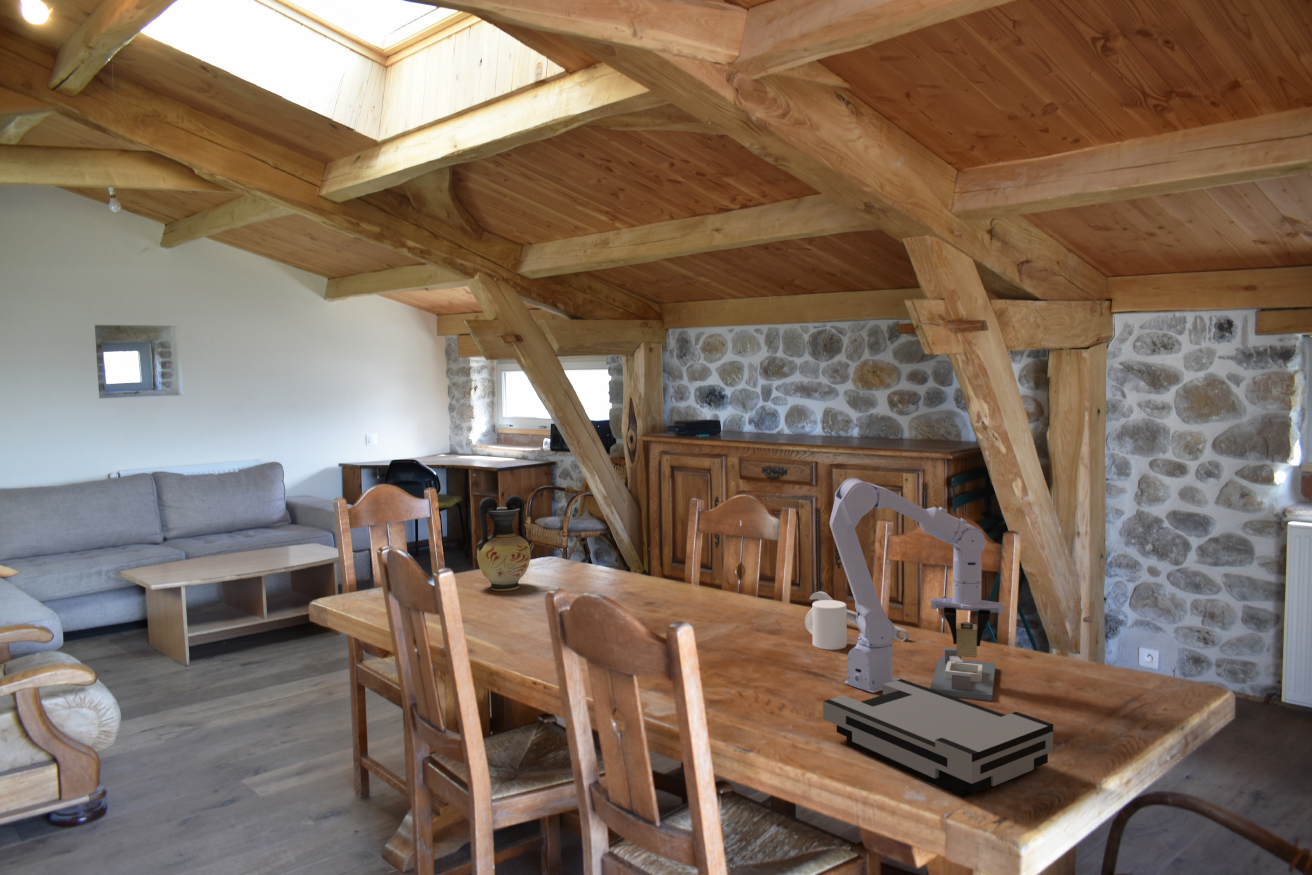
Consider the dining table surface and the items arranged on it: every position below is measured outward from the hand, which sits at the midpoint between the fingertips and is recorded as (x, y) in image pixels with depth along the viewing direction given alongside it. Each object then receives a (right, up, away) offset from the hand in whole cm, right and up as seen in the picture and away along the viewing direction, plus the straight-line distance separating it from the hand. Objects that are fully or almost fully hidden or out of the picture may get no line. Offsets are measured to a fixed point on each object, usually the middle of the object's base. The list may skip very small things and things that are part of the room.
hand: (966, 643), depth 188 cm
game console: (-18, -11, -35) cm, 41 cm away
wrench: (-14, -7, +42) cm, 45 cm away
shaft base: (0, -8, +2) cm, 8 cm away
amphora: (-116, -5, +97) cm, 151 cm away
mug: (-25, -7, +31) cm, 40 cm away
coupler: (0, -2, 0) cm, 2 cm away
